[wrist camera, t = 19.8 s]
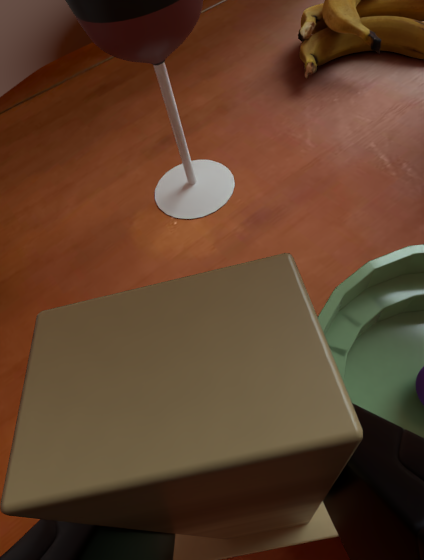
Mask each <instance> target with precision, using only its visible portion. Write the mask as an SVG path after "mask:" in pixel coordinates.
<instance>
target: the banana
mask: <svg viewBox="0 0 424 560" xmlns="http://www.w3.org/2000/svg"><path fill="white" fill-rule="evenodd" d="M422 21H424V0H325V2H324V3H323V4H319V5H315V6H312V7H310V8H307V9H305V11H304V12H303V15H302V18H301V29H300V30H299V34H298V39H300V40H301V41H303V43H302V44H301V47H300V54H299V57H300V59H301V60H302V61H303V62H304V63H305V66H304V68H305V77H306V78H308V74H313V73H315V72H316V71H317V66H319V65H322V64H324V63H326V62H328V61H330V60H332V59H335V58H337V57H340V56H343V55H347V54H351V53H356V52H362V51H377V52H378V53H379V54H380V51H391V52H396V53H400V54H403V55H407V56H410V57H414V58H419V59H424V22H422ZM311 34H313V35H311Z"/></svg>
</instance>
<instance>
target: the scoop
mask: <svg viewBox="0 0 424 560" xmlns="http://www.w3.org/2000/svg"><path fill="white" fill-rule="evenodd" d="M362 439H363V429H362V427H361V424H360V422H359V419H358V417H357V414H356V412H355V409H354V407H353V404H352V402H351V399H350V397H349V394H348V392H347V389H346V387H345V384H344V382H343V380H342V377H341V375H340V372H339V370H338V367H337V365H336V362H335V360H334V357H333V355H332V352H331V350H330V347H329V345H328V342H327V340H326V337H325V335H324V332H323V330H322V328H321V325H320V323H319V320H318V318H317V315H316V313H315V310H314V308H313V305H312V303H311V300H310V298H309V295H308V293H307V290H306V288H305V285H304V283H303V281H302V278H301V276H300V273H299V271H298V268H297V266H296V263H295V261H294V258H293V257H292V256H291V255H290V254H289V253H284V254H279V255H275V256H271V257H267V258H263V259H258V260H254V261H250V262H246V263H242V264H237V265H233V266H229V267H225V268H221V269H217V270H212V271H208V272H204V273H200V274H196V275H191V276H187V277H183V278H179V279H175V280H170V281H166V282H162V283H158V284H154V285H149V286H145V287H141V288H137V289H133V290H129V291H124V292H120V293H116V294H112V295H108V296H103V297H99V298H95V299H91V300H87V301H82V302H78V303H74V304H70V305H66V306H61V307H57V308H53V309H49V310H45V311H42V312H40V313H39V314H38V315H37V318H36V324H35V329H34V334H33V339H32V344H31V349H30V355H29V360H28V365H27V370H26V375H25V381H24V386H23V391H22V396H21V401H20V406H19V412H18V417H17V422H16V427H15V432H14V437H13V443H12V448H11V453H10V458H9V463H8V468H7V474H6V479H5V484H4V489H3V494H2V499H1V512H2V513H3V514H6V515H9V516H18V517H27V518H36V519H45V520H54V521H64V522H73V523H82V524H91V525H100V526H109V527H118V528H127V529H136V530H145V531H155V532H164V533H173V534H175V544H174V554H173V560H221V559H226V558H231V557H236V556H241V555H246V554H251V553H256V552H261V551H267V550H272V549H277V548H282V547H287V546H292V545H297V544H302V543H308V542H313V541H318V540H323V539H328V538H333V537H338V536H339V535H338V533H337V531H336V529H335V527H334V524H333V522H332V520H331V518H330V516H329V514H328V512H327V510H326V508H325V506H324V503H323V500H324V498H325V497H326V495H327V494H328V492H329V491H330V489H331V487H332V486H333V484H334V483H335V481H336V480H337V478H338V477H339V475H340V473H341V472H342V470H343V469H344V467H345V466H346V464H347V462H348V461H349V459H350V458H351V456H352V455H353V453H354V452H355V450H356V448H357V447H358V445H359V444H360V442H361V441H362Z"/></svg>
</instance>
